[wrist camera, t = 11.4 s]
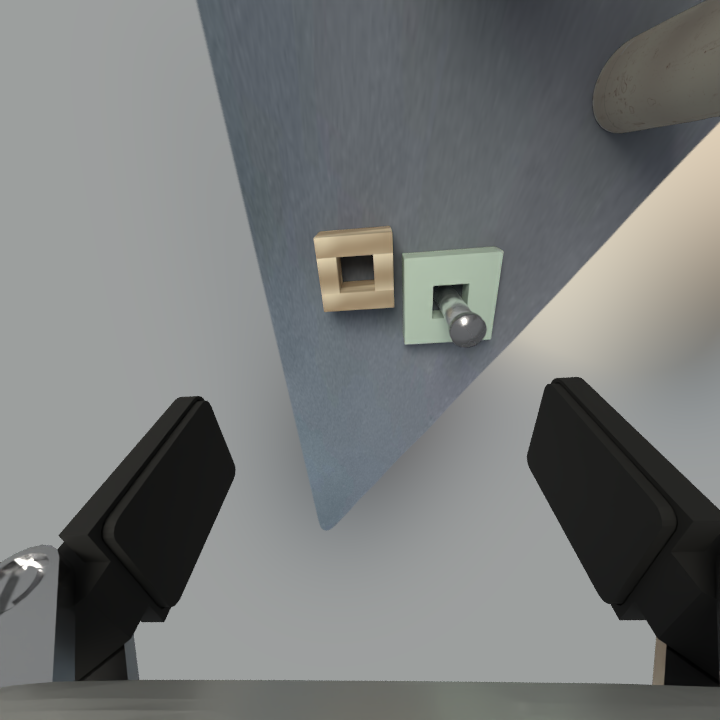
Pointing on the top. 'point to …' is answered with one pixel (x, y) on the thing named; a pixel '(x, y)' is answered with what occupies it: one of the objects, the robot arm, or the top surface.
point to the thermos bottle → (663, 74)
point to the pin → (459, 318)
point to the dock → (447, 268)
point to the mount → (355, 292)
